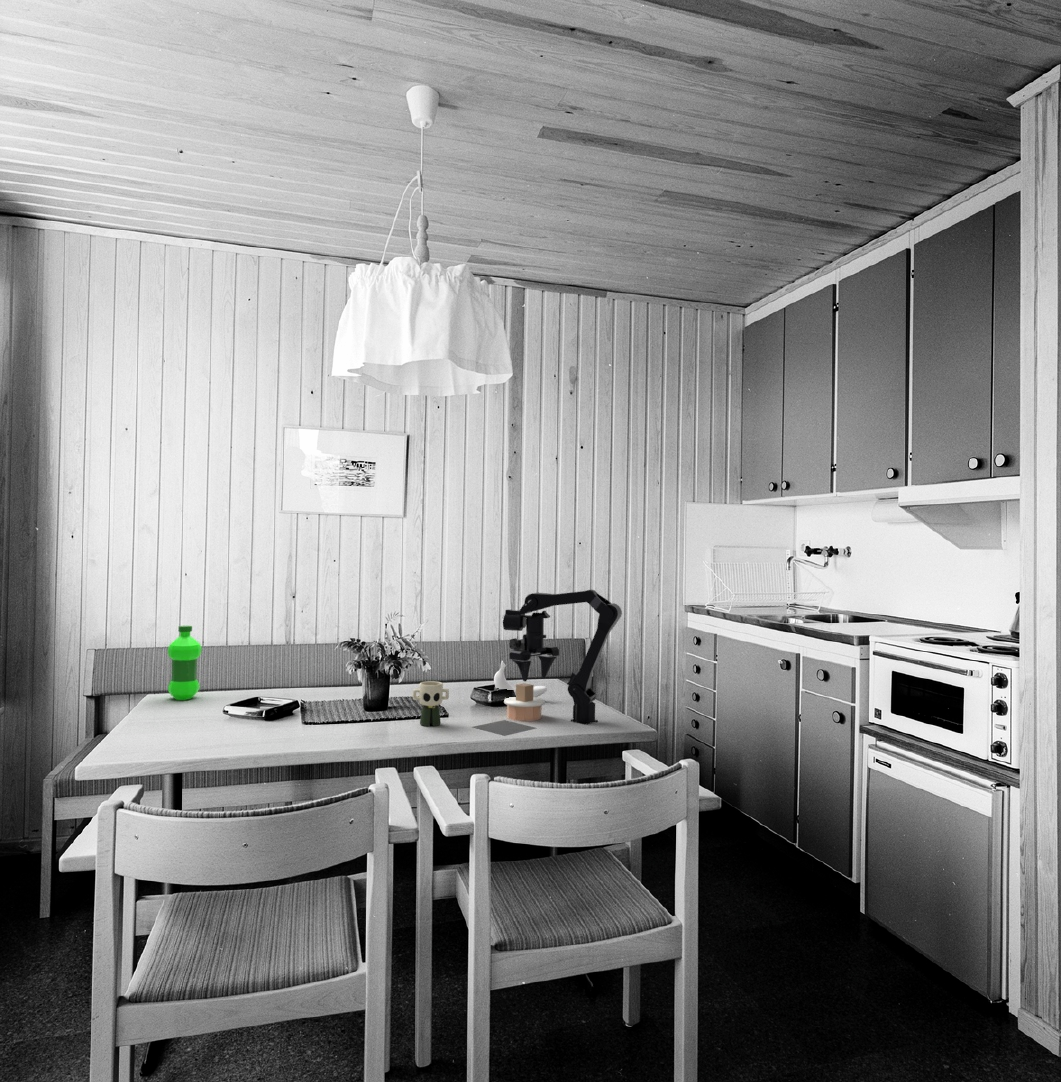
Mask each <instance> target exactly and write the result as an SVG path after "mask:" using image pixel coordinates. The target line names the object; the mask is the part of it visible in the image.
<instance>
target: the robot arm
mask: <svg viewBox="0 0 1061 1082" xmlns="http://www.w3.org/2000/svg"><path fill="white" fill-rule="evenodd" d="M580 603H581V604H582V603H587V604H589V606H591V608H592V609H593V610H594V611H595V612H596V613H598V614H599V616H598V619H597V626H596V631H595V633H594V635H593V637H592V641H591V642H590V645H589V647H588V650H587V652H586V654H585V656H584V659H583V661H582V663H581V666H580V668H579V670H577V669H576V670H574V671H573V672H571V674H570V679H569V681H568V682H567V683H566V685H568V686H567V692H568V694H569V696H570V697H571V698H572V702H573V706H572V718H571V719H570V722H572V721H573V723H577V724H582V725H589V724H590V725H591V724H593V723H594V724H595V723H598V722H599V720H598V719H596V703H595V702H594V701H596V697H597V693H596V692H595V691H594V690H593V688H591V687H592V680H593V673H594V670H595V667H596V665H597V663H598V661H599V657H600V655H601V654H602V652H603V649H604V646H605V644H606V641H607V640H608V638H609V635H610V632H611V631H612V630H613V629H614V627H615V626H616V624H618V622H619V621H620V619H621V617H622V615H623V613H622V612H623V611H622V608H621V606H620V605H619V604H617V603H612V602H610V600H608V599H607V598H605V597H603V596H602V595H601V594H600V593H598V592H597V591H596V590H595V589H586V590H582V591H573V592H565V593H564V592H563V593H562V592H561V593H548V592H547V593H545V592H532V593H529V594H527V595H526V597H525V598H524V604H523V605H522V606H521V607H520V609H519V610H517V609H505V612H504V615H503V620H502V628H503V630H504V631H514V632H515V631H517V632H522V631H523V630H524V629H525V633H524V634H523V636H522V639H519V640H518V638H511V639H509V644H508V645H509V648H510V652H509V654H508V655H509V656H508V659H509V660H511V661H512V662H514V663H515V664H516V665H517V666H518V669H519V672H520V675H521V678H522V681H523V682H525V683H526V682H527V681H528V677H529V673H530V668H531V663H532V661H531V660H530V659H531V657H538V659H539V660H540V669H541V670H540V671H541V678H542V679H546V677H547V675H548V673H549V671H550V668H551V667H552V665H553V663H554V661H555V660H556V659H557V656H558V657H559V656H560V648H558V646H553V645H544V640H545V639H547V634H544V633H545V632H544V630H545V626H544V625H545V623H544V622H545V620H544V619H549V618H551V615H550V614H549V613H548V612H547V610H545V609H547V608H551V607H553V606H563V605H572V604H580ZM543 609H544V610H543ZM540 610H542V611H541V612H536V611H540ZM531 613H532V614H531ZM530 614H531V615H530Z"/></svg>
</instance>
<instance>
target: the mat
mask: <svg viewBox="0 0 1061 1082" xmlns="http://www.w3.org/2000/svg"><path fill="white" fill-rule="evenodd" d="M472 728H474V729H477V730H481V731H485V732H489V733H492V734H496V735H499V736H509V735H515V734H517V733H522V732H526V731H531V730H535V729H537V727H535V726H530V725H526V724H522V723H518V722H514V721H509V720H506V719H503V720H498V721H494V722H493V721H492V722H488V723H483V724H479V725H474V726H472Z"/></svg>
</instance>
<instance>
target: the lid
mask: <svg viewBox="0 0 1061 1082" xmlns="http://www.w3.org/2000/svg"><path fill="white" fill-rule="evenodd" d="M534 687H535V686H534V684H531V683H526V682H525V683H524V682H523V683H519V684H515V688H516V697H509V698H506V697H505V698H504V701H503V703H504V704H505V705H506V706H507V705H510V706H516V707H536V706H541V705H542V706H544V705H545V702H546V701H545V699H543V698H540V697H533V688H534Z"/></svg>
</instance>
